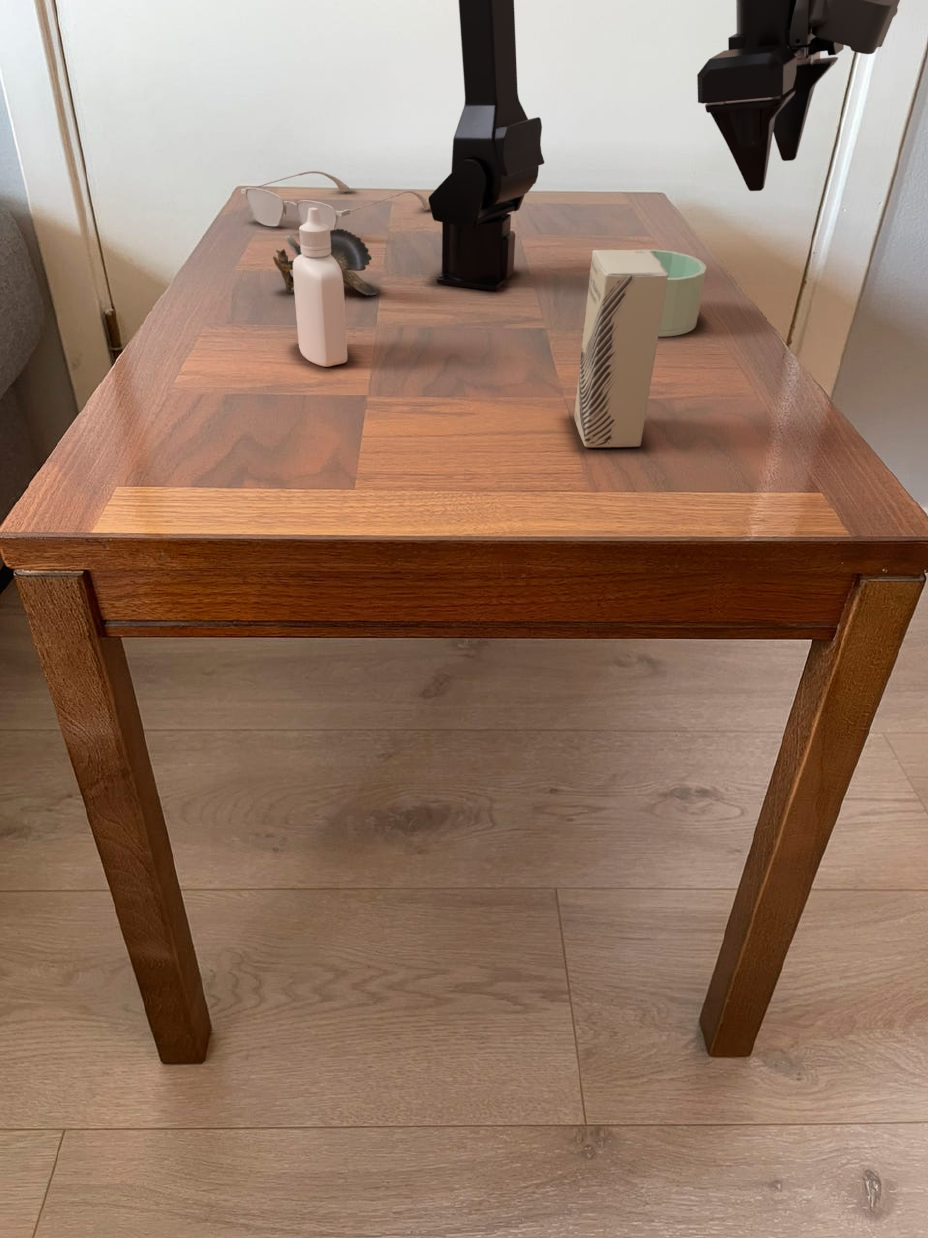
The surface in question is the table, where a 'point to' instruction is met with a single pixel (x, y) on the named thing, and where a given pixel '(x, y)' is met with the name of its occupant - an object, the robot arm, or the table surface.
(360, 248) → the brown grey figurine
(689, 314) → the bowl
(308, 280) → the eye dropper bottle
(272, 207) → the eyeglasses
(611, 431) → the box
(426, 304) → the table surface
